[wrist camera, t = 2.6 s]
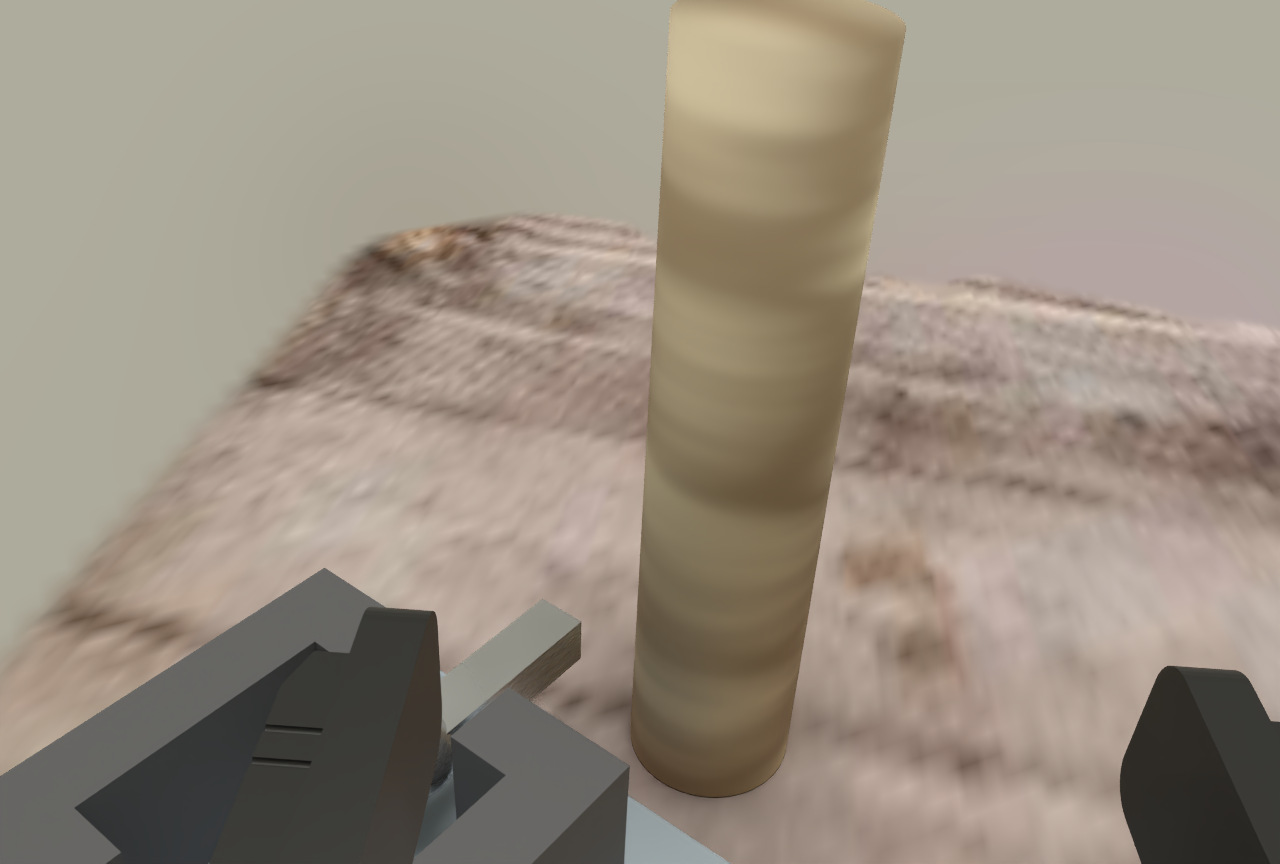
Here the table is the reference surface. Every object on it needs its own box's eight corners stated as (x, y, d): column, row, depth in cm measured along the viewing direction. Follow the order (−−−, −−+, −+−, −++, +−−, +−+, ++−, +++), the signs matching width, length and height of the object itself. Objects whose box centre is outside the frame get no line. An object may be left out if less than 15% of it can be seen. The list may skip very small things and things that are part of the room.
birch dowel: (690, 653, 33) (753, -26, 23) (815, 725, 31) (946, 18, 21) (598, 741, 30) (622, 15, 20) (729, 825, 28) (830, 70, 18)
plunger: (411, 839, 25) (404, 776, 23) (346, 790, 26) (336, 726, 24) (593, 677, 28) (594, 616, 27) (530, 639, 29) (530, 578, 28)
